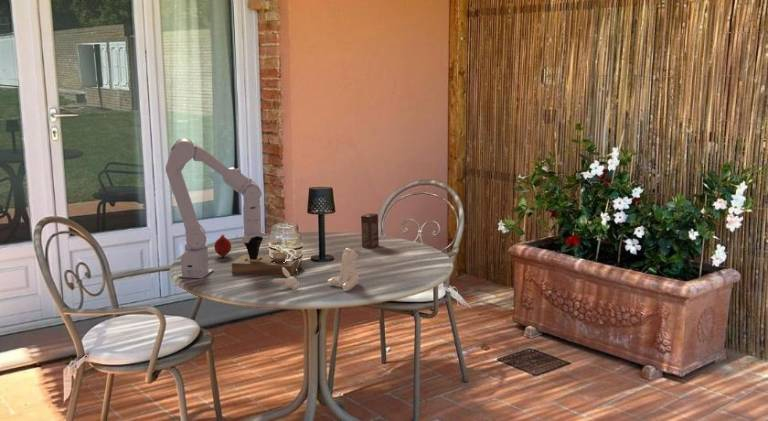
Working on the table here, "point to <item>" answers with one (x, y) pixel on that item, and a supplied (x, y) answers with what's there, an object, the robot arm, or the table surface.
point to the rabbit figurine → (287, 280)
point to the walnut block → (263, 266)
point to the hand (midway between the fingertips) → (253, 259)
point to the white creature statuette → (346, 272)
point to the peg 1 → (254, 260)
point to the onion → (222, 246)
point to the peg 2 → (278, 257)
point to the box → (369, 230)
